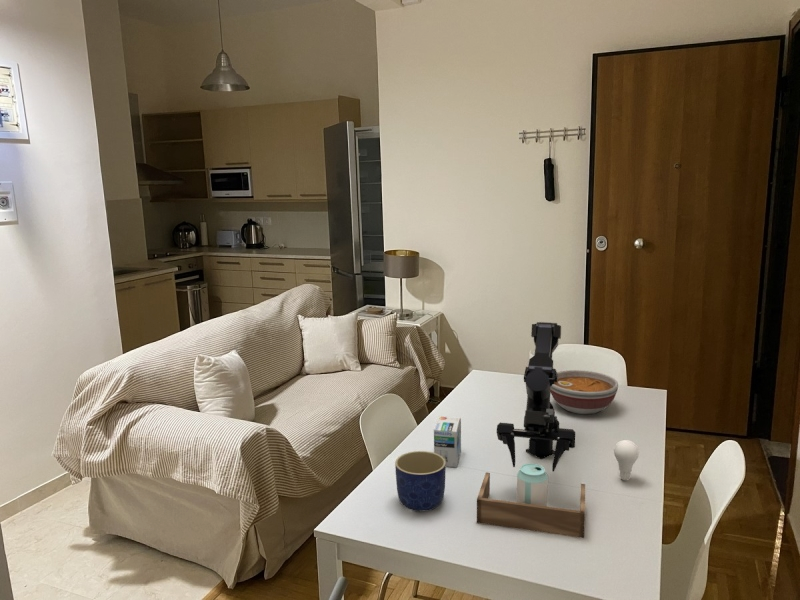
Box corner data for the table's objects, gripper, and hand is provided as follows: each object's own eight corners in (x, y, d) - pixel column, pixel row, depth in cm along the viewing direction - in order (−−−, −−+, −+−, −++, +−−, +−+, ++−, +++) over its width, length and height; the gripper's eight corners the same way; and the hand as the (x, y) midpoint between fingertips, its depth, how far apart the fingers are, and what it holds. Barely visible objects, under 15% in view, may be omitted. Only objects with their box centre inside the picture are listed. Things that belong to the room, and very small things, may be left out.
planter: (386, 500, 154) (385, 460, 152) (424, 484, 161) (423, 446, 159) (417, 522, 144) (416, 479, 142) (456, 504, 152) (456, 463, 149)
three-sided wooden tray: (485, 494, 156) (485, 472, 155) (584, 506, 149) (585, 484, 148) (476, 522, 143) (476, 499, 142) (583, 538, 136) (584, 513, 135)
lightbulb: (636, 476, 163) (639, 437, 161) (637, 487, 158) (639, 447, 155) (612, 473, 165) (614, 434, 163) (612, 483, 160) (614, 444, 157)
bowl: (537, 413, 207) (538, 385, 205) (558, 392, 226) (559, 366, 224) (607, 426, 195) (609, 396, 193) (623, 403, 214) (625, 375, 212)
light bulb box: (457, 468, 170) (457, 431, 168) (433, 466, 171) (433, 430, 169) (461, 451, 180) (461, 416, 178) (438, 449, 182) (438, 415, 179)
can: (522, 504, 151) (523, 459, 148) (550, 512, 147) (551, 465, 145) (512, 518, 145) (512, 471, 142) (541, 526, 141) (542, 478, 139)
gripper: (498, 391, 151) (490, 452, 143) (576, 398, 146) (574, 461, 138) (501, 410, 160) (495, 468, 152) (576, 417, 155) (573, 477, 147)
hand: (533, 468), depth 147 cm, fingers open, 9 cm apart
